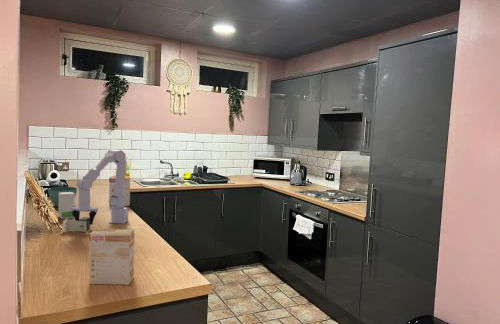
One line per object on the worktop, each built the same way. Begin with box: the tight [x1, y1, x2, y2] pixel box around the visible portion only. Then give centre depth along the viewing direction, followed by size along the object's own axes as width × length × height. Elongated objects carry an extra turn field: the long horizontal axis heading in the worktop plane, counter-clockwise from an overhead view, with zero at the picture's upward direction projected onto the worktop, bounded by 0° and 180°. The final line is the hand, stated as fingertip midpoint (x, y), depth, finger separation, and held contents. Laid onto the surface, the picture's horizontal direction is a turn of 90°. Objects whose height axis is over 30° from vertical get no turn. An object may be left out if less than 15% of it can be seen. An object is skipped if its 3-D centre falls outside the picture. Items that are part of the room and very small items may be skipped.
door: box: [68, 219, 87, 233], centre depth 202 cm, size 2×10×6 cm, turn 81°
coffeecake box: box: [88, 228, 135, 286], centre depth 141 cm, size 15×7×20 cm, turn 92°
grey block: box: [79, 216, 91, 231], centre depth 208 cm, size 4×5×6 cm
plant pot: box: [47, 186, 78, 208], centre depth 261 cm, size 18×18×12 cm
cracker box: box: [108, 175, 131, 207], centre depth 269 cm, size 14×6×21 cm, turn 73°
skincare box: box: [57, 192, 76, 220], centre depth 230 cm, size 8×7×16 cm
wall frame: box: [62, 214, 81, 233], centre depth 209 cm, size 2×18×6 cm, turn 0°
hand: (84, 224), depth 208 cm, fingers open, 7 cm apart
